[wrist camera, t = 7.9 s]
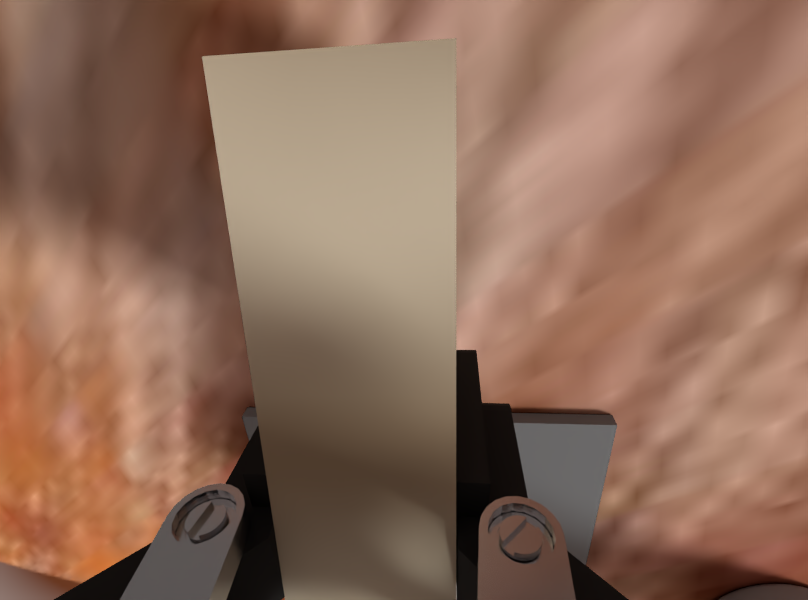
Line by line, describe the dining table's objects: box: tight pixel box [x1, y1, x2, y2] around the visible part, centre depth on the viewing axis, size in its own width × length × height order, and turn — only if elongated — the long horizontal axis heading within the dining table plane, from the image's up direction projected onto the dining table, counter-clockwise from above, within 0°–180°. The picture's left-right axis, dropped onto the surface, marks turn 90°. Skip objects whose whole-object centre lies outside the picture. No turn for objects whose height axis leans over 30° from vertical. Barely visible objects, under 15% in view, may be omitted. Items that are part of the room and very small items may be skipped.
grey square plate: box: [242, 407, 617, 565], centre depth 22 cm, size 16×16×1 cm
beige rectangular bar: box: [202, 38, 457, 600], centre depth 10 cm, size 19×5×5 cm, turn 3°
